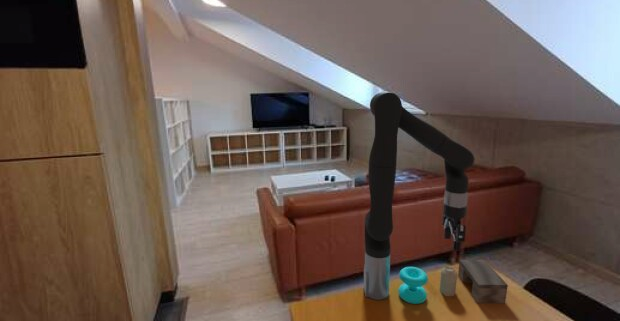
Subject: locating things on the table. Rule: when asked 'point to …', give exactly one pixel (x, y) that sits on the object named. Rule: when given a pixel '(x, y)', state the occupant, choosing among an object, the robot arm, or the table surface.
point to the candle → (448, 281)
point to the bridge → (483, 281)
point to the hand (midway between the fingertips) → (451, 244)
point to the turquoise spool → (413, 285)
